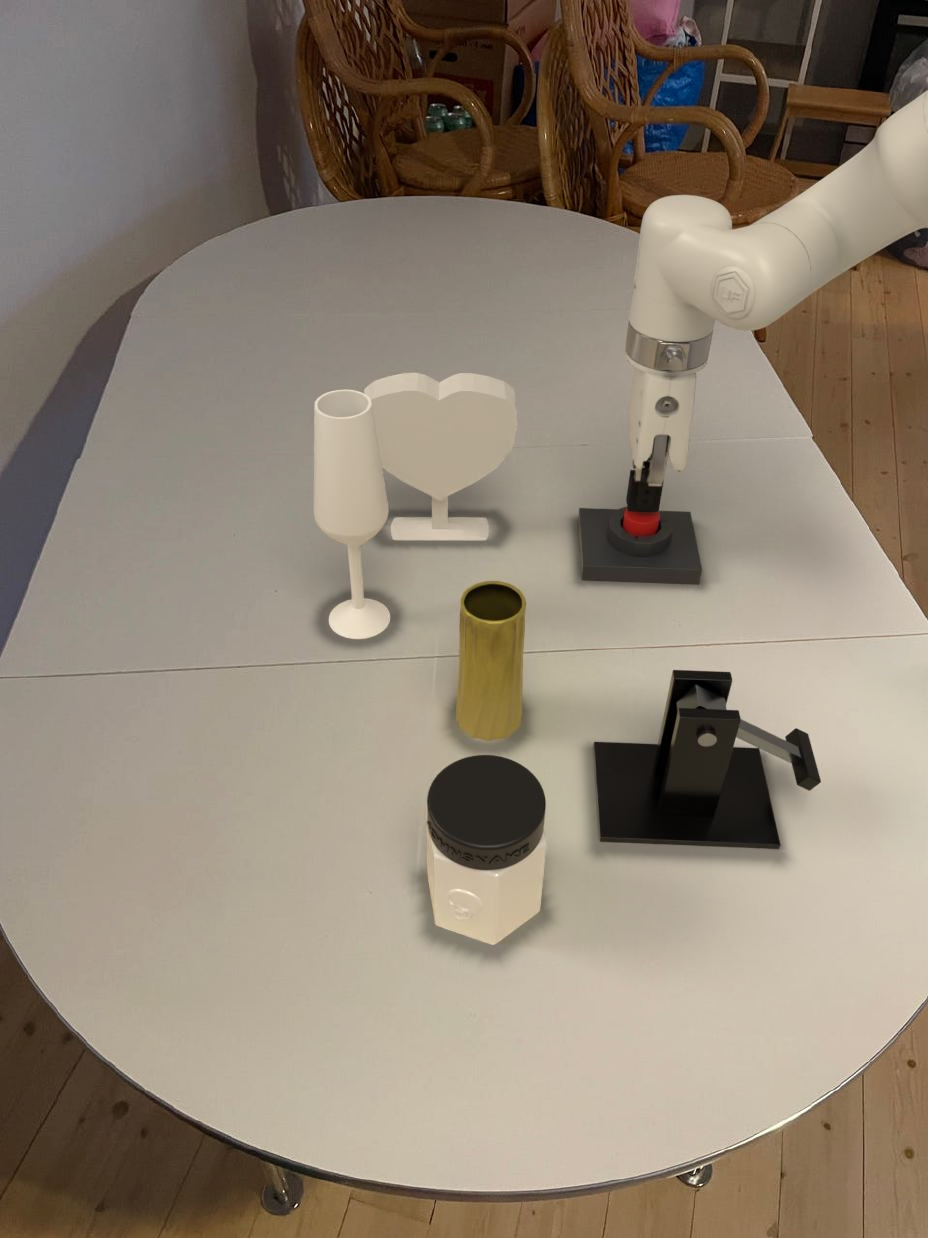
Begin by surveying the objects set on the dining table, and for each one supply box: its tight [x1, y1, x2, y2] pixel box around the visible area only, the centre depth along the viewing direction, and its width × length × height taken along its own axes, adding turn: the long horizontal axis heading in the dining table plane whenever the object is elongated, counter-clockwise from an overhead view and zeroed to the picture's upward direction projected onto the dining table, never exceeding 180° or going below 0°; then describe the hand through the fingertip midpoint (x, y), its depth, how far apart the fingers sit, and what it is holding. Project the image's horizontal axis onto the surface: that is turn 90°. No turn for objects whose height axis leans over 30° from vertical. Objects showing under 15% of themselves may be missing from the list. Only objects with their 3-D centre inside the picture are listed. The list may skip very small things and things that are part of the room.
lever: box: [676, 685, 822, 791], centre depth 80 cm, size 12×5×2 cm
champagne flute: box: [313, 389, 391, 640], centre depth 94 cm, size 7×7×24 cm
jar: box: [425, 754, 548, 946], centre depth 75 cm, size 9×8×12 cm
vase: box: [455, 580, 527, 742], centre depth 87 cm, size 6×6×14 cm
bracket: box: [592, 669, 782, 850], centre depth 82 cm, size 14×10×13 cm
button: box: [623, 508, 660, 536], centre depth 107 cm, size 4×4×2 cm
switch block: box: [577, 506, 703, 586], centre depth 109 cm, size 12×10×4 cm
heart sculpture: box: [363, 372, 519, 541], centre depth 107 cm, size 16×5×18 cm, turn 91°
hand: (641, 507), depth 107 cm, fingers closed
